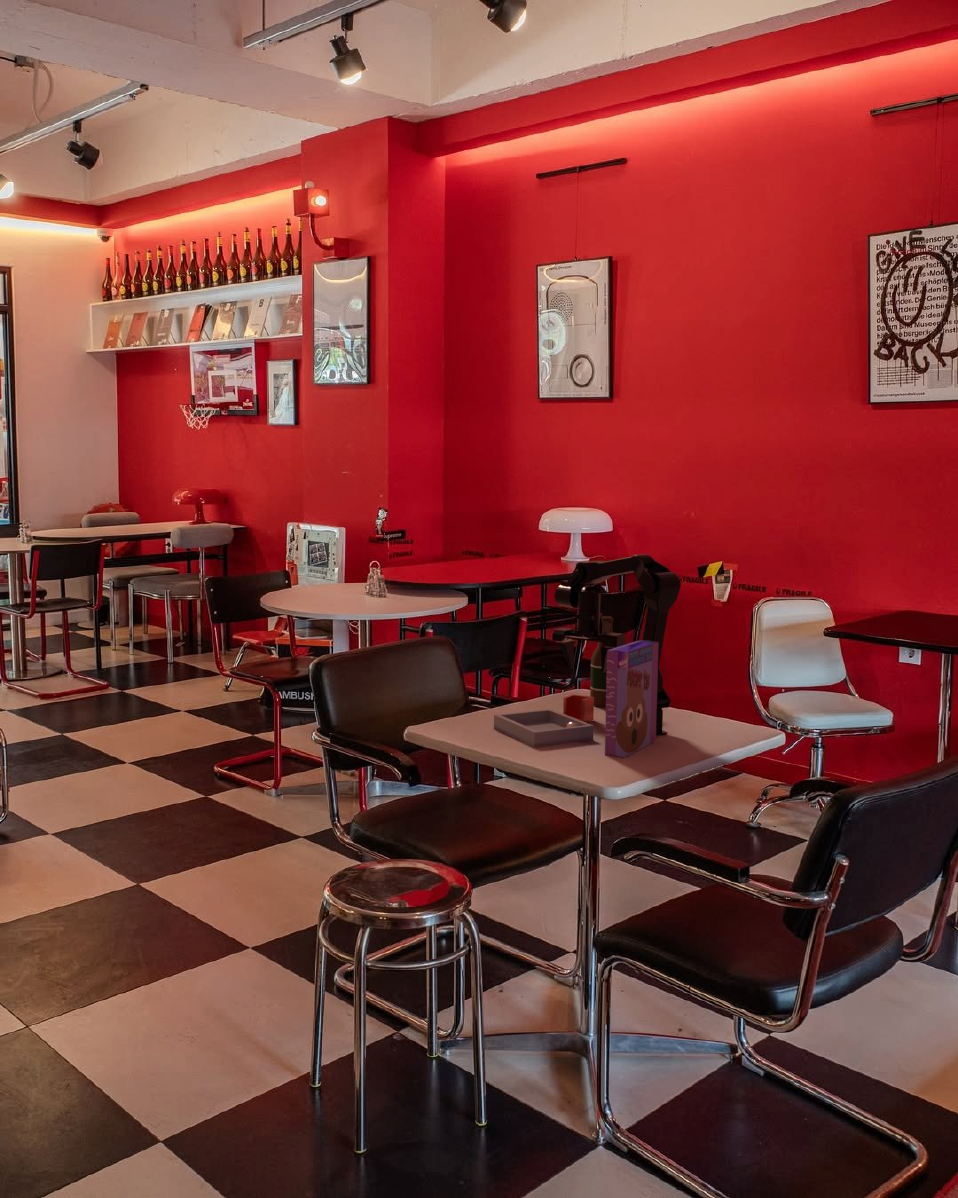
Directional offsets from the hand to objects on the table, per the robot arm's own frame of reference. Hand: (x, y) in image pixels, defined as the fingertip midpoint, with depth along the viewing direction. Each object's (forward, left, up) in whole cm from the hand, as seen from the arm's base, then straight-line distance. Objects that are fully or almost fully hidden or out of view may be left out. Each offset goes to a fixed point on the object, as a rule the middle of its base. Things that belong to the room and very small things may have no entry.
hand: (587, 670), depth 288 cm
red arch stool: (-3, +4, -12) cm, 13 cm away
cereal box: (-32, +8, -12) cm, 35 cm away
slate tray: (-12, +20, -12) cm, 26 cm away
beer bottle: (+10, -12, -12) cm, 20 cm away
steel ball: (-18, +15, -10) cm, 25 cm away
